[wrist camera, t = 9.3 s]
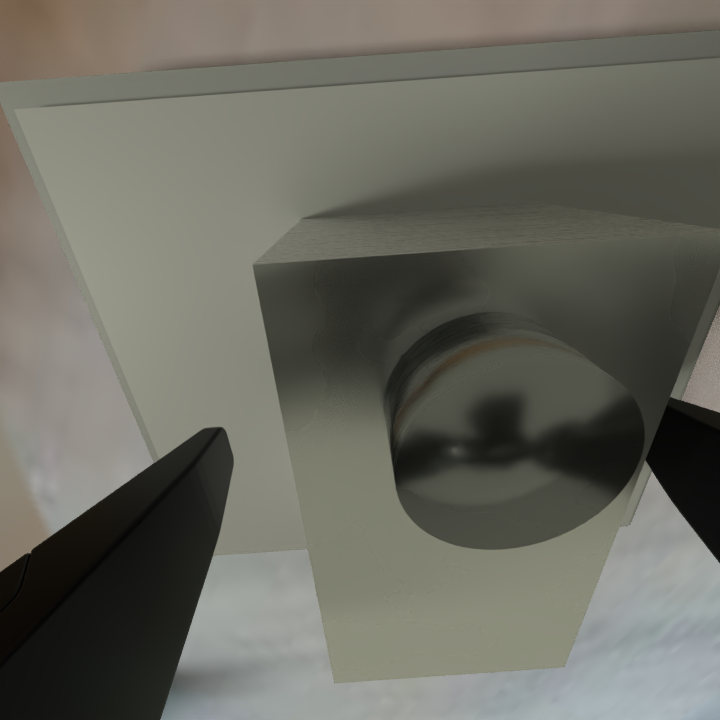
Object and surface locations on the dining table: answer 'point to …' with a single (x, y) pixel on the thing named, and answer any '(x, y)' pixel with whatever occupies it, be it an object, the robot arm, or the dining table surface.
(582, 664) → the dining table surface
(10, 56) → the dining table surface
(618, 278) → the block
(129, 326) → the stand
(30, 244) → the dining table surface
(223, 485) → the robot arm
